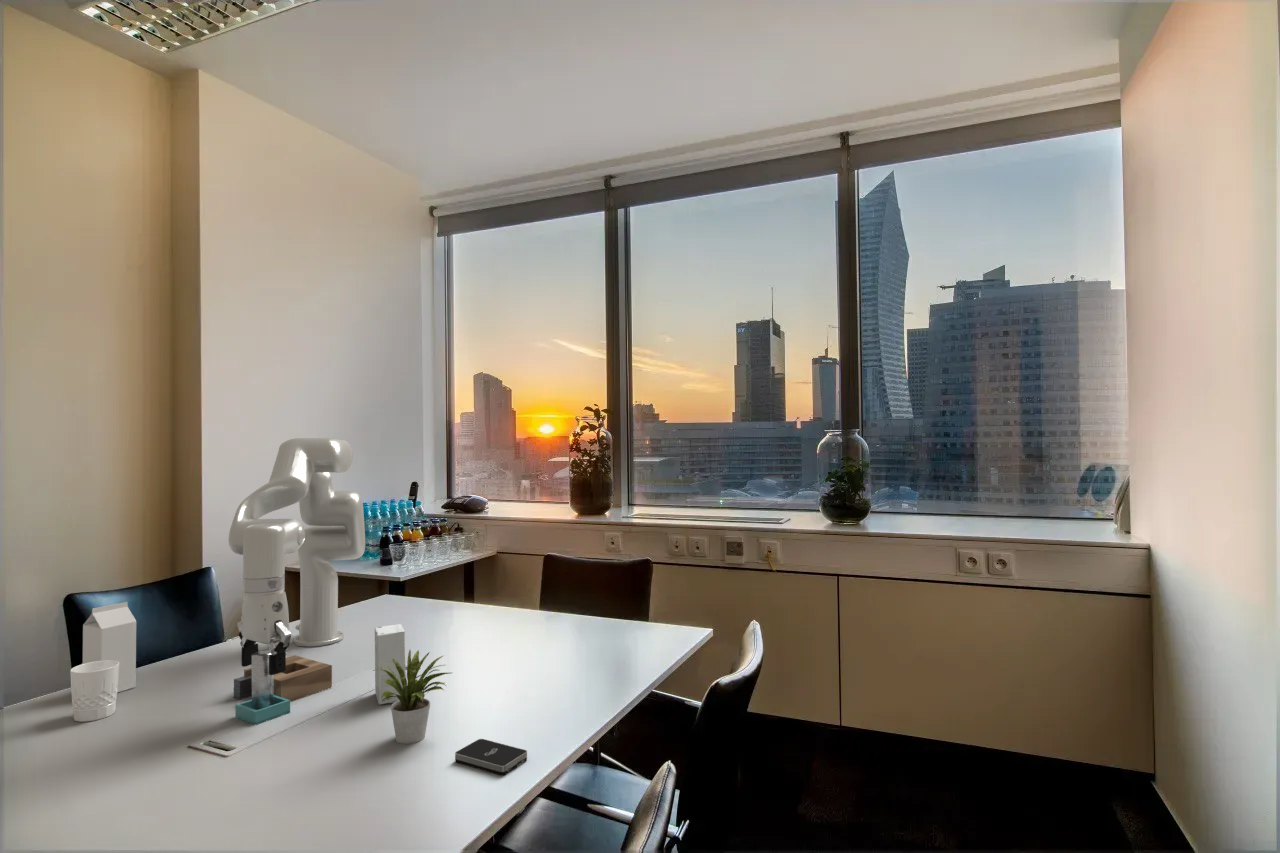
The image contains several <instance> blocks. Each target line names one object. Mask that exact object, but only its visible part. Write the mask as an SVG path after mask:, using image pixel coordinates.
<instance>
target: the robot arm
mask: <svg viewBox="0 0 1280 853" xmlns="http://www.w3.org/2000/svg"><path fill="white" fill-rule="evenodd" d="M352 463H353V449H352V446H351V443H349V442H348V441H347V440H344V439H337V438H329V437H321V438H320V437H297V438H290V439H287V440H285V441H284V442H282V443H281V444H280V445H279V447H278V451H277V454H276V458H275V461H274V464H273V467H272V472H271V475H270V476H269V477H270V478H269V481H268V482H267V483H265V484H263V485H261V486H260V487H259V488H258V489H256V490H254V491H253V492H251V493H249V495H248V496H246V498H245V499H243V500H242V502H240V504H239V505H238V507H237V509H236V510H235V514H234V515H233V516H234V517H233V519H232V522H231V525H230V529H229V533H228V546H229V548H230V550H231V551H232V552H233V553H235V554H237V555H241V556H242V557H243V558H242V594H243V597H242V604H241V617H240V619H241V620H239V621H238V622H237V623H236V624H237V628H238V638H239V639H240V642H239V645H240V648H241V655H240V656H241V661H240V663H241V667H244V668H245V667H249V666H252V654H253V653H256V652H259V643H260V644H263V645H267V647H268V650H270V652H271V655H269V675H274V674H278V673H281V672H284V671H285V670H286V658H287V656H286V655H287V652H288V650H289V649H288V648H289V647H290V644H291V643H290V641H291V638H292V633H291V632H292V631H290V621H289V620H290V619H289V616H290V614H289V605H288V600H287V594H286V591H285V586H286V584H285V581H286V580H285V578H286V577H285V575H286V574H285V573H286V572H285V571H286V568H285V567H286V565H285V564H286V558H285V556H286V554H292V553H295V552H297V555H298V559H299V560H298V561H299V573H300V574H299V575H300V578H299V580H300V591H299V592H300V597H299V598H300V604H299V605H300V606H299V608H300V610H299V612H300V614H299V615H300V616H299V617H300V619H299V620H300V621H299V624H297V625H295V626H294V627H295V630H297V631H298V635H297V636H295V637H294V638H293V644H294V645H296V646H299V647H307V648H310V647H320V646H327V645H332V644H335V643H338V642H341V641H342V640H343V639H344V637H345V636H344V633H343V632H342V631H340V630H339V628H338V627H339V626H338V623H339V622H338V616H339V615H338V612H339V610H338V609H339V606H338V605H339V600H338V599H339V577H338V573H337V571H336V569H335V568H334V567H333V565H331V563H330V562H331V561H332V562H333V561H351V560H357V559H360V558H361V557H363V555H364V554H365V551H366V529H365V515H364V514H365V512H364V502H363V499H362V496H361V495H360V493H358V492H356V491H354V490H335V489H333V479H332V478H333V477H332V473H338V474H339V473H340V474H341V473H346V472H348V471H349V470H350V467H351V466H352ZM297 503H298V505H299V506H298V507H299V513H300V518H301V521H302V522H303V524H305V525H306V526H307V525H308V526H310V527H307V528H304V526H303V524H302V523H301V522H300V521H299V520H298V519H294V518H261V517H263V516H265V515H267V514H270V513H272V512H275V511H278V510H281V509H284V508H287V507H289V506H292V505H294V504H297ZM275 644H276V645H275Z"/></svg>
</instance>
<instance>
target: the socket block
mask: <svg viewBox="0 0 1280 853" xmlns="http://www.w3.org/2000/svg"><path fill="white" fill-rule="evenodd" d="M250 674H252V667H249V668H248V667H247V668H245V669H244V670H243V676H246V675H250ZM332 680H333V665H332V664H328V663H324V662H321V661H317V660H314V659H310V658H307V657H302V656H299V655H292V656H288V657H287V656H286V670H285V671H284V672H281V673H278V674H274V695H276V696H279V697H282V698H285V699H288V700H290V701H291V702H294V701H297V700H299V698H300V699H302V697H303V698H305V696H306V697H308V696H307V695H309V696H312V695H315V694H317V693H320V692H322V690H323V691H326V690H329V689H331V687H332V688H333V685H332V684H333V681H332ZM328 688H329V689H328ZM325 689H326V690H325ZM319 691H320V692H319ZM316 692H317V693H316ZM296 699H297V700H296ZM293 700H294V701H293Z"/></svg>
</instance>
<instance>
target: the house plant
mask: <svg viewBox="0 0 1280 853" xmlns="http://www.w3.org/2000/svg"><path fill="white" fill-rule="evenodd" d="M429 654H430V652H428V653H426V654H425V655H423V657H422V659H421V660H420V659H419V656H420V650H419V649H417V651H416V652H415V653H414V654H413V657H411V656H412V651H411V649H409V651H408V654H407V661H406V662H407V664H406V665H407V666H406V667H407V668H406V677H405V674H404V671H403V669H402V667H401V666H400V664H399V663H398V662H397V661H396V660H394V659H393V663H395V666H396V669H397V670H398V672H399V675H400V679H401V683H402V686H403V689H402V687H401V684H400V682H399V680H398V678H397V676H396V675H395V673H394V672H393V671H392V670H391V669H390V668H389V667H388V666H386V665H384V666H386V667H388V668H389V669H390V671H391V672H392V673H393V674H394V675H395V676H394V675H393V674H392V673H390V672H389V671H387V670H385V669H383V668H381V669H382V670H383V671H385V672H386V673H387V674H388V675H389V676H390V677H391V678H392V679H393V680H391V679H388V680H385V681H384V682H385V683H386V684H388V685H390V686H392V687H394V688H395V689H396V690H397V692H398V693H399V695H397V694H395V695H396V696H397V698H398V699H399V701H397V702H394V703H392V704H391V706H390V710H391V715H392V717H391V718H392V723H393V729H394V736H395V740H396V742H397V743H399V744H402V745H403V744H404V745H407V744H408V745H409V744H415V743H418V742H420V741H422V740H424V739H425V737H426V732H427V726H428V718H429V713H430V708H431V701H430V700H429V699H428V698H425V693H429V692H431V691H436V690H442V691H445V689H444V688H443V687H442V686H440V685H443V686H445V687H447V685H446V683H445V682H441V681H434V682H431V683H429V682H430V681H432V680H433V679H435V678H438V677H440V676H443V675H449V674H450V675H451V674H452V672H438V671H439V669H435V668H438V667H443V666H445V664H440V665H435V664H436V662H438V661H439V660H440V659H441V658H443V657H444V655H441V656H439V657H436V659H434V660H433V661H432V662H430V664H429V665H428V666H427V667H426V668H425V669H424V671H423V672H422V674H420V675H418V673H419V672H420V669H421V667H422V665H423V663H424V661H425V660H426V659H427V657H428V656H429ZM388 662H390V661H388ZM379 668H380V667H379ZM432 669H433V670H432ZM372 671H374V672H375V669H373V670H372ZM435 671H437V673H433V672H435ZM431 673H433V674H431ZM429 674H430V675H429ZM396 678H397V679H396ZM417 678H419V679H417ZM432 685H433V686H432ZM438 685H439V686H438ZM431 686H432V687H431ZM390 695H394V693H392V692H389V691H385V692H384V693H383V695H382V697H385V698H384V699H383V700H385V699H388V698H391V697H396V696H390ZM382 697H381V698H382ZM383 700H382V701H383Z"/></svg>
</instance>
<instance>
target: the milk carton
mask: <svg viewBox="0 0 1280 853" xmlns="http://www.w3.org/2000/svg"><path fill="white" fill-rule="evenodd" d="M103 660H115V661H118V662H119V677H118V689H117V693H120V692H124V691H127V690H130V689H134V688H135V687H136V686H137V684H136V683H137V682H136V681H137V677H136V675H137V672H136V671H137V663H136V662H137V620H136V618H135V616H134V615H133V613H132V612H131V610H130V608H129V606H128V601H124V602H120V603H114V604H109V605H104V606H99V607H94V608H91V614H90V616H88V618H87V619H86V621H85V622H84V623H83V624H82V664H85V663H89V662H95V661H103Z"/></svg>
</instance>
